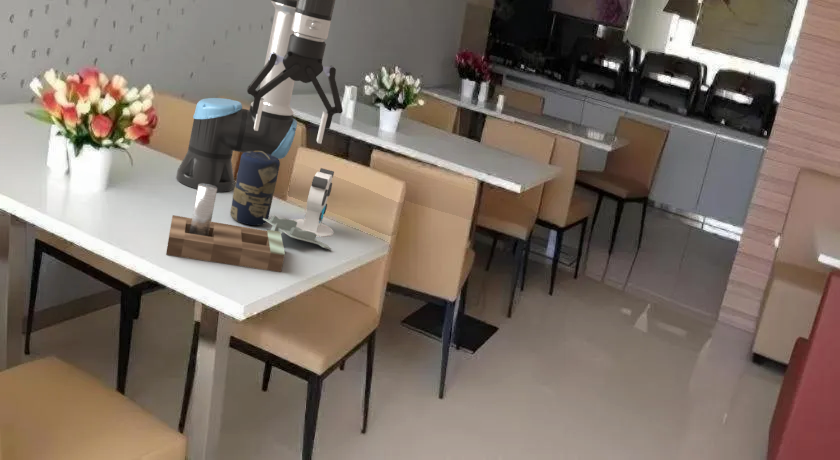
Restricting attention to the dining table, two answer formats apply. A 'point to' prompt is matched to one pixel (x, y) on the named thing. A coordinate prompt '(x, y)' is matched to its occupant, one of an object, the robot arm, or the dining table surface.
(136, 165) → the dining table surface
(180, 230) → the pin plate
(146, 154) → the dining table surface
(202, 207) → the steel pin
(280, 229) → the metal bracket
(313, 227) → the white upright piece
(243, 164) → the canister
